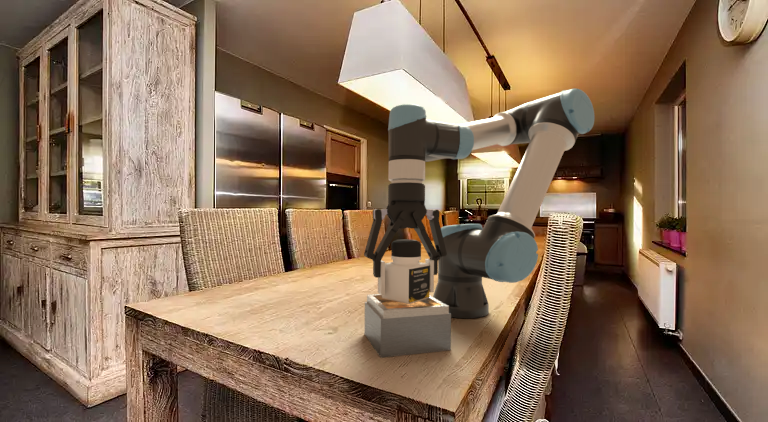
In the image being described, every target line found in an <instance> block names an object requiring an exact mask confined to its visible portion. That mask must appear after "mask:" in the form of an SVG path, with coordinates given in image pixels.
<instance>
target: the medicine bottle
mask: <svg viewBox="0 0 768 422" xmlns="http://www.w3.org/2000/svg"><path fill="white" fill-rule="evenodd" d="M390 250H391V260H392V261H391V262H385V295H382V298H383V299H387V300H392V301H397V302H401V303H406V304H411V303H415V302H418V301H421V300H424V299H428V298H429V295H430V292H429V285H430V265H429V264H428V263H425V262H421V260H422V242H421V241H418V240H416V239H412V238H411V239H409V238H408V239H407V238H404V239H403V238H401V239H395V240H393V241H391V249H390Z"/></svg>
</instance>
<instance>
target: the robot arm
mask: <svg viewBox="0 0 768 422" xmlns="http://www.w3.org/2000/svg"><path fill="white" fill-rule="evenodd" d="M593 106H594V105H593V103H592V100H591V99H590V97H589V96H588V94H587V93H586V92H585V91H583V90H582V89H580V88H571V89H562V90H561V91H560V92H557V93H554V94H550V95H547V96H544V97H541V98H537V99H535V100H530V101H529V102H526V103H523V104H520V105H519V106H516V107H514V108H511V109H509V110H506V111H505V110H504V111H500V112H498V113H496V114H494V116H493V117H489V118H485V119H479V120H474V121H469V122H465V123H458V122H455V123H453V122H445V121H439V120H438V121H437V120H431V119H428V118H427V114H426V112H427V111H426V109H425V107H424V106H421V105H420V104H415V103H403V104H398V105H396V106H393V107H392V108H391V110H390V111H389V117H388V128H387V132H388V178H387V179H388V181H389V182H390V183H389V185H387V189H388V190H387V191H388V192H387V206H386V208H383V209H379V208H374V209H373V210H372V223H371V227H370V231H369V234H368V239H367V242H366V246H365V250H364V252H363V253H364V254H363V255H364V257H366V258H367V259H369V260H372V265H373V267H372V275H373V277H375V278H377V294H380V295H385V263H386V261H384V260H382V259H383V257H384V256H385V254H386V252H387V250H388V248H389V246H390V244H392V242H393V241H392V240H393V239H394V237H395V235H396V233H397V232H399V229H401V230H402V229H413V230H414V231H415V232H416V234H417V236H418V238H419V240H420V243H421V245H422V246H423V247H424V250H425V252H426V254H427V255H428V258H425V259H424V260H425V261H424V263H428V264H429V265H430V285H429V293H433V296H432V297H434V298H435V299H437V300H439V301H441V302H442V303H444V304H446V305H448V306H449V313H451V318H454V319H455V318H456V319H475V318H482V317H485V316H488V315H489V311H490V308H489V302H488V298H487V294H486V292H485V288H484V285H483V279H484V278H485V279H489V280H493V281H495V282H499V283H509V284H511V283H513V284H514V283H519V282H521V281H523V280H525V279H527V278H528V277H529V276H530V274H532V272H533V271H534V270H535V268H536V265H537V262H538V259H539V258H538V257H539V254H538V253H537V251H539V248H538V247H539V246H538V243H537V241H536V239H535V238H536V234H535V232H534V230H533V224H534V222H535V220H536V217H537V215H538V214H539V212H540V211H539V210H540V209H541V206H542V204H543V202H544V200H545V197H546V194H547V193H548V189H549V188H550V185H551V182H552V181H553V178H554V177H555V173H556V171H557V169H558V166H559V165H560V162H561V159H562V158H563V157H562V156H563V155H564V152H565V151H569V150H570V149H572V148H573V146H574V145H575V143H576V141H577V139H578V136H579V135H584V134H586V133H589V132H590V131H591V130H592V129H593V127H594V124H595V109H594V107H593ZM519 144H528V146H527V147H526V150H525V153H524V155H523V156H522V159H521V161H520V163H519V164H518V165H519V166H518V167H517V169H516V172H515V174H514V176H513V178H512V179H511V180H512V181H511V183H510V185H509V187H508V189H507V191H506V193H505V195H504V198H503V199H502V202H501V204H500V205H499V209H498V210H497V213H496V214H492V215H488V217H487V219H486V222H485V224H484V226H483V225H482V224H481V223H465V224H464V223H461V224H452V225H451V224H450V225H444V226H442V227H441V224H440V210H439V209H427V208H426V205H425V203H426V185H425V184H424V183H423V182H425V181H426V163H429V162H434V161H438V160H445V159H451V160H463V159H466V158H467V157H469V156H470V155H471V153H472V151H475V150H478V149H482V148H487V147H492V146H496V145H498V146H500V147H501V146H502V147H507V146H510V145H519ZM386 216H387V217H388V219H389V220H390V222H389V224H388V226H387V229H386V231H385V232H384V234H383V237H382V238H381V241H380V242H379V244H378V246H377V242H378V237H379V234H380V231H381V227H382V225H383V224H382V222H383V220H385V217H386ZM425 217H426V218H427V220H428V222H429V227H430V230H431V235H432V239H433V242H432V239H431V237H430V236H429V234H428V232H427V230H426V226H425V224H424V222H423V219H424V218H425ZM376 246H377V247H376ZM375 249H376V250H375ZM435 276H437V284H436V286H435V283H434V282H435ZM434 287H435V288H434Z"/></svg>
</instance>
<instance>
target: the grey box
mask: <svg viewBox="0 0 768 422" xmlns="http://www.w3.org/2000/svg"><path fill="white" fill-rule="evenodd" d="M364 336H365V337H366V339H367V340H368V342H369V343H370V345H371V346H372V348H373V349H374V350H375V352H376V353H377V354H378V356H379V357H380V358H387V357H388V358H390V357H396V356H408V355H415V354H427V353H436V352H446V351H451V349H452V347H451V345H452V344H451V341H452V338H451V337H452V317H451V313H449V306H448V305H446V304H444V303H442V302H441V301H439V300H437V299H435V298H434V297H433V296H432V295H430V294H429V298H428V299H424V300H421V301H418V302H415V303H411V304H406V303H401V302H397V301H392V300H387V299H383V298H382V295H380V294H379V293H375V294H371V293H370V294H367V295H366V301H364Z"/></svg>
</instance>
